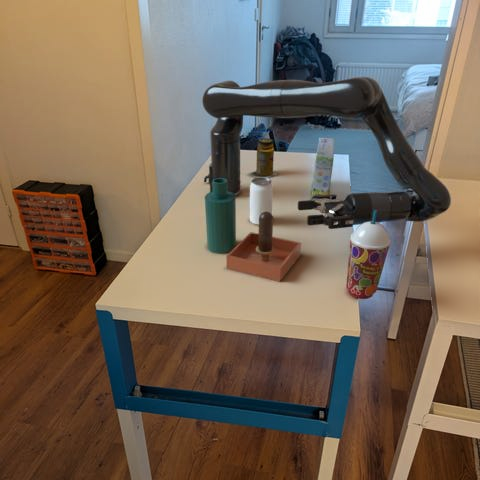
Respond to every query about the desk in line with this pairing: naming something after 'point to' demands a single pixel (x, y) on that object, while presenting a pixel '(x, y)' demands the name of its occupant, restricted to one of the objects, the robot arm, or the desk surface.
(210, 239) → the flask
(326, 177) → the snack box
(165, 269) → the desk surface
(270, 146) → the condiment
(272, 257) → the dish
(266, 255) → the stopper
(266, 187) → the can
